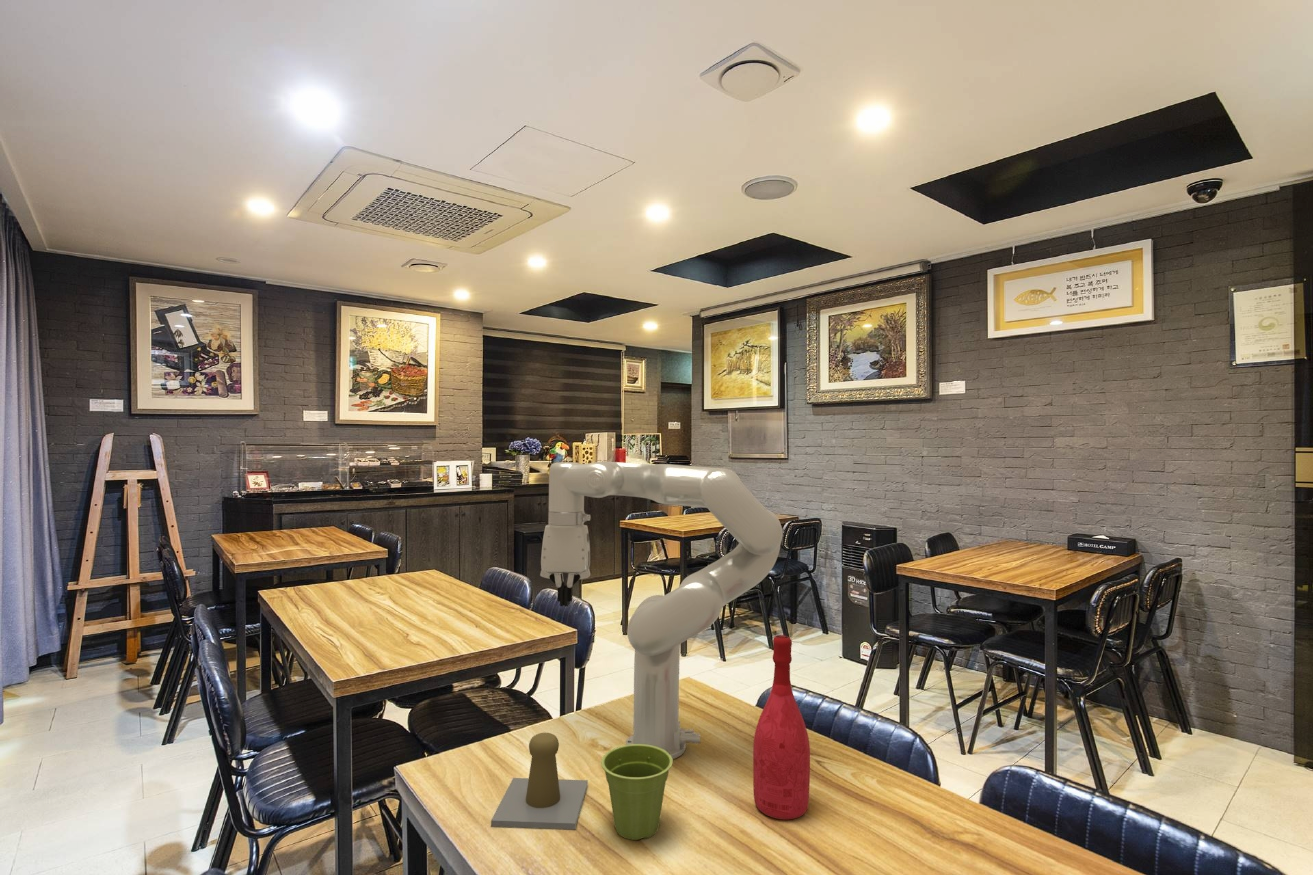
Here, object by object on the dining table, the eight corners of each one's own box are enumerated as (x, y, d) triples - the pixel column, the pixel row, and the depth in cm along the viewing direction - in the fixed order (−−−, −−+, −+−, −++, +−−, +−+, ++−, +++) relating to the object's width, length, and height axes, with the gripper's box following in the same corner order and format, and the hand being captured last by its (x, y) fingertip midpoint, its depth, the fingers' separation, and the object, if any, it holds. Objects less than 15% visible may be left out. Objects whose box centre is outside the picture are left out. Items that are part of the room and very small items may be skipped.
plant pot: (604, 807, 113) (605, 742, 114) (672, 809, 113) (672, 744, 113) (595, 849, 101) (596, 776, 102) (671, 851, 101) (672, 778, 101)
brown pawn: (553, 809, 111) (554, 744, 111) (520, 805, 112) (521, 741, 112) (565, 791, 116) (566, 729, 117) (533, 787, 118) (534, 726, 118)
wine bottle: (812, 798, 117) (813, 631, 118) (806, 827, 108) (807, 646, 108) (758, 788, 120) (759, 626, 121) (747, 816, 111) (749, 640, 112)
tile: (587, 785, 121) (587, 780, 121) (575, 829, 107) (575, 823, 107) (513, 783, 121) (513, 777, 121) (490, 826, 107) (491, 820, 107)
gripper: (602, 518, 143) (601, 601, 143) (535, 517, 144) (534, 600, 144) (598, 522, 136) (597, 609, 135) (527, 520, 136) (526, 608, 136)
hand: (564, 604), depth 139 cm, fingers closed
